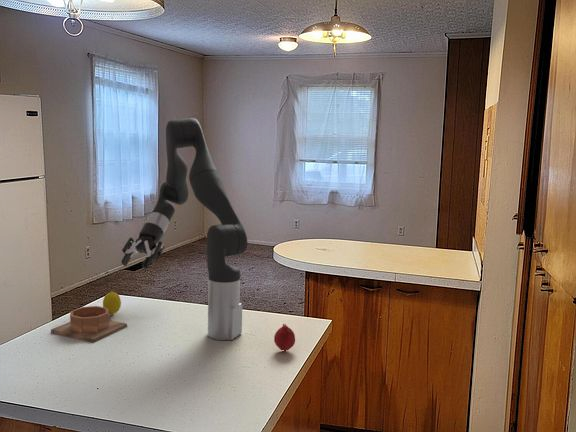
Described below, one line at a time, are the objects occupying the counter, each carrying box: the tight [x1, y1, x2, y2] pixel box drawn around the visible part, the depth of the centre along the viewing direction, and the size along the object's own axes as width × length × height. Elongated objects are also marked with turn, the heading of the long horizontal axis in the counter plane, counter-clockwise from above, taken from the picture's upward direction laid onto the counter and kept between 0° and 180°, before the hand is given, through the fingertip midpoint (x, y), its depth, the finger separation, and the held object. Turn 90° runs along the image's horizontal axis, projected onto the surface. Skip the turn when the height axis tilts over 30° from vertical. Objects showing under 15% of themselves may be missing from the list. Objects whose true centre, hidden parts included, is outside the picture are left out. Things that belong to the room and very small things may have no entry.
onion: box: [273, 323, 296, 352], centre depth 145 cm, size 6×6×8 cm
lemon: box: [102, 291, 122, 316], centre depth 169 cm, size 6×6×8 cm
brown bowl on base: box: [50, 305, 128, 343], centre depth 156 cm, size 16×14×6 cm
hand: (133, 266), depth 177 cm, fingers open, 8 cm apart
